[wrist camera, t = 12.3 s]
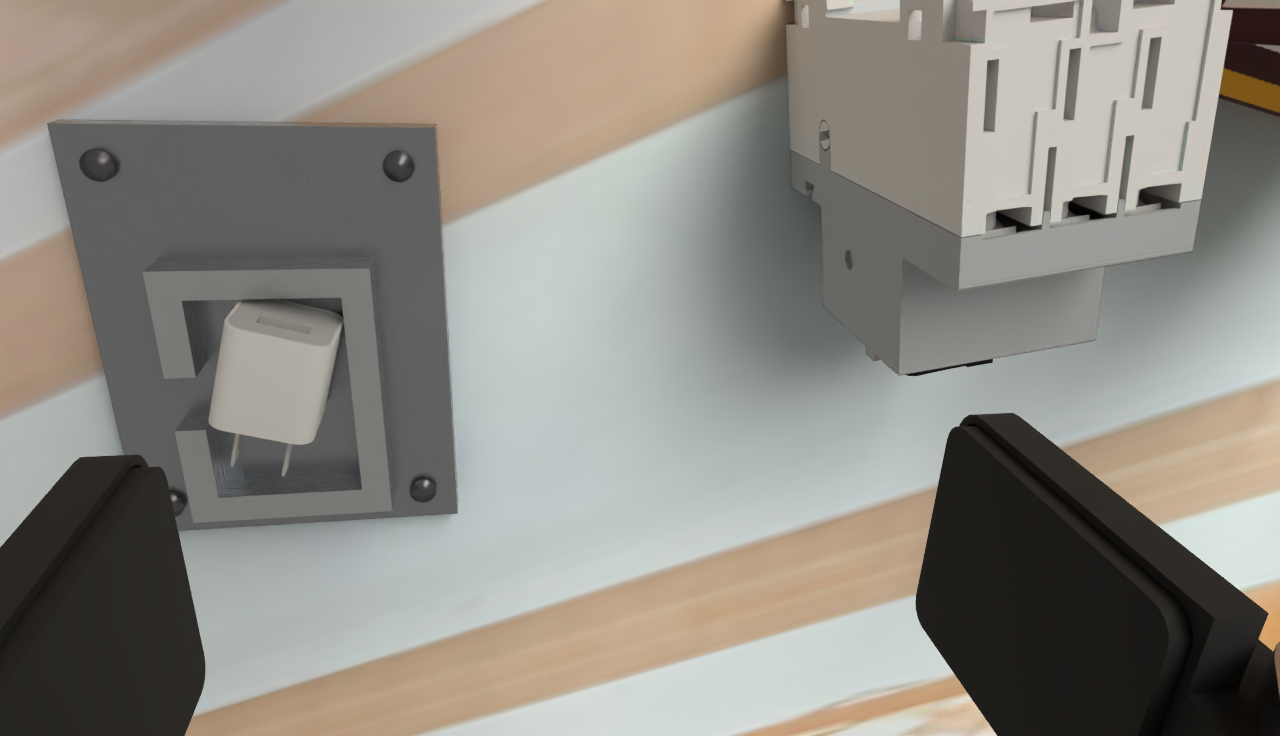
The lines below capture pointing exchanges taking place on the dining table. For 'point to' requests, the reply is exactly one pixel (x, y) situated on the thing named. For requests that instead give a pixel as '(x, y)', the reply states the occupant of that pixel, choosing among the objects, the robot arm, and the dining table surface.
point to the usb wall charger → (274, 372)
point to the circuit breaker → (996, 161)
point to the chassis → (269, 269)
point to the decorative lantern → (1253, 55)
